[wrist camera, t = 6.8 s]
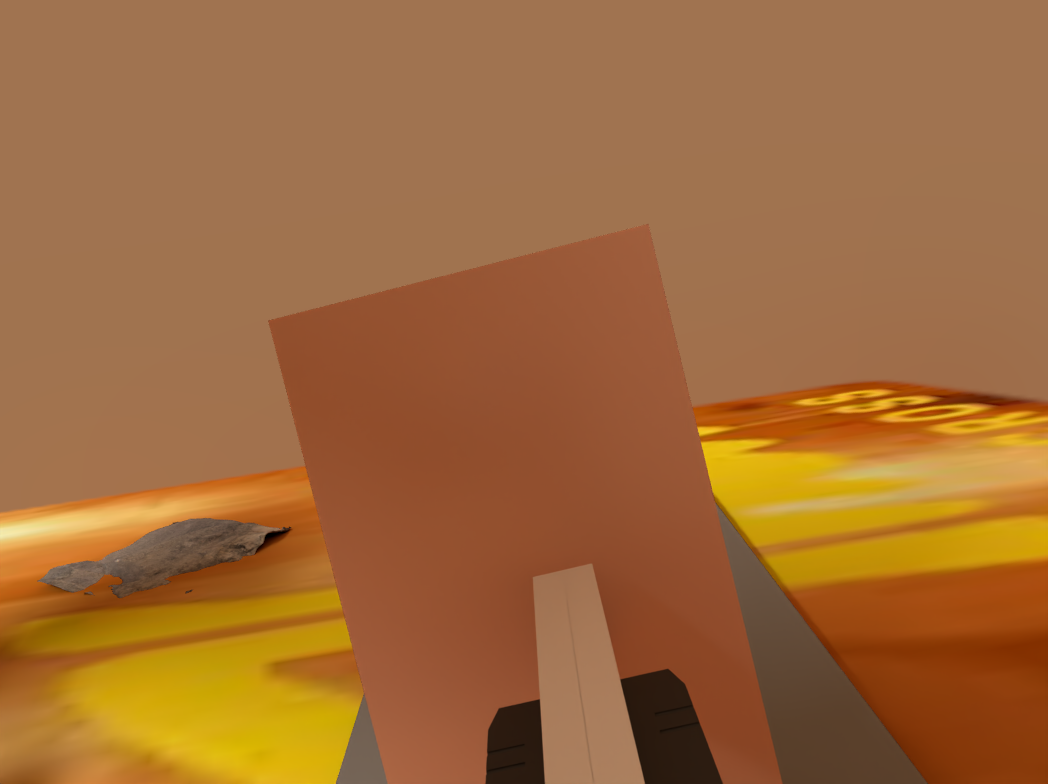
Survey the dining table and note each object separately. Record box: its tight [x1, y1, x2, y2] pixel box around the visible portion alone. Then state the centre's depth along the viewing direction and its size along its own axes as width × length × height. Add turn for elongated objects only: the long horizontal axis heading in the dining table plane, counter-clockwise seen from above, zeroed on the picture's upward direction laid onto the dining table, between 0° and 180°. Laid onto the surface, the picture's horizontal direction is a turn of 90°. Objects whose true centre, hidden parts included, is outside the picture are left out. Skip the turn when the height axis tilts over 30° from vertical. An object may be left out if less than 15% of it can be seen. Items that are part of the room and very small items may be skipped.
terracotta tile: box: [268, 224, 782, 784], centre depth 18 cm, size 2×10×16 cm, turn 91°
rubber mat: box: [336, 503, 928, 784], centre depth 26 cm, size 24×18×1 cm
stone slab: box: [38, 518, 291, 598], centre depth 49 cm, size 18×2×10 cm
